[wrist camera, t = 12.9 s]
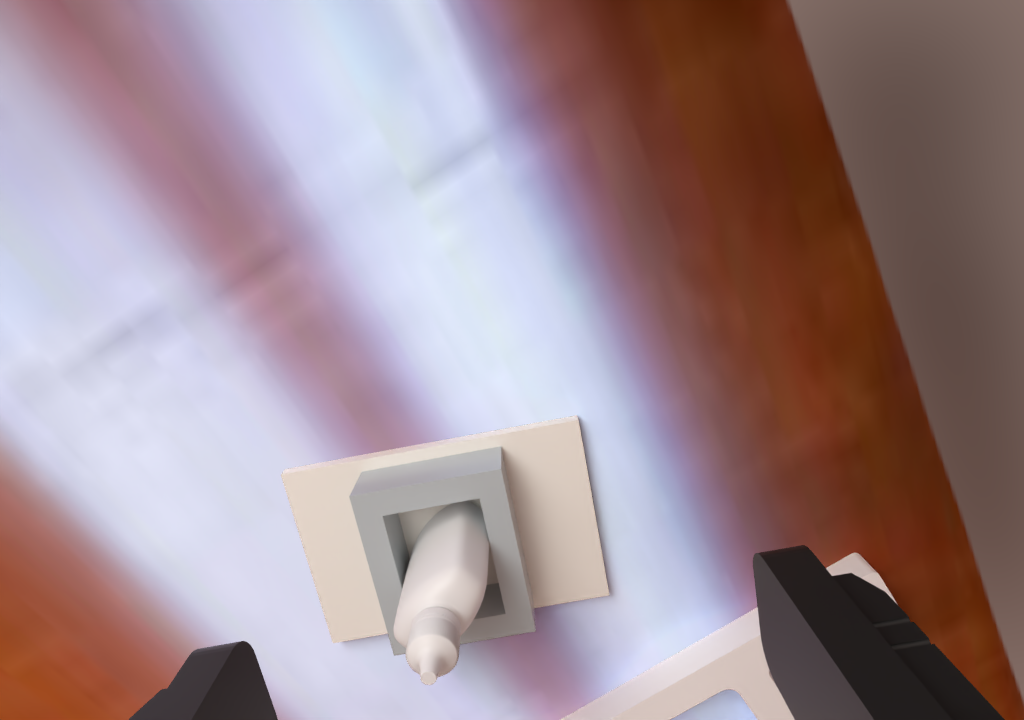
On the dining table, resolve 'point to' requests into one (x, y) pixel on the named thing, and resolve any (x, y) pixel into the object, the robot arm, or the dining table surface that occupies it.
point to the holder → (710, 671)
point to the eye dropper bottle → (442, 589)
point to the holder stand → (427, 490)
